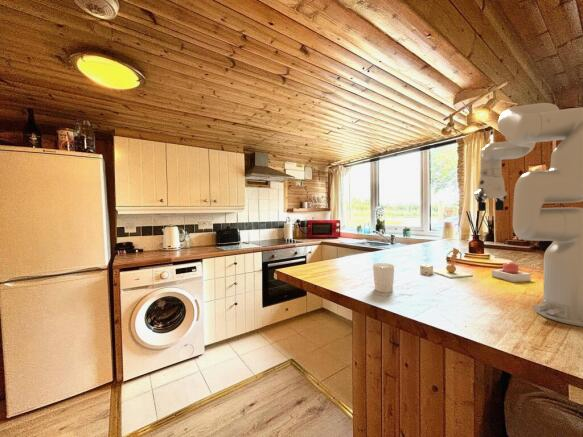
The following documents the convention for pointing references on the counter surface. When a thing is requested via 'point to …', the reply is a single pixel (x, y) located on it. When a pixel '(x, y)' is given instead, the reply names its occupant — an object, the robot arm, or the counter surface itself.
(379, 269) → the white cup
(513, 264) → the dome button
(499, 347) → the counter surface
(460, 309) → the counter surface
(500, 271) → the popper box
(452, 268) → the figurine
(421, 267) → the ivory die
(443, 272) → the tile
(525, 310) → the counter surface
